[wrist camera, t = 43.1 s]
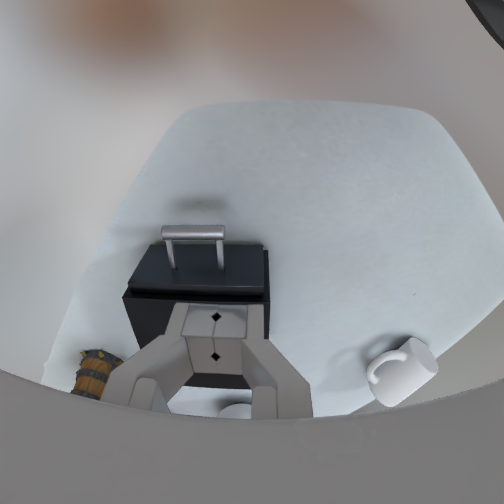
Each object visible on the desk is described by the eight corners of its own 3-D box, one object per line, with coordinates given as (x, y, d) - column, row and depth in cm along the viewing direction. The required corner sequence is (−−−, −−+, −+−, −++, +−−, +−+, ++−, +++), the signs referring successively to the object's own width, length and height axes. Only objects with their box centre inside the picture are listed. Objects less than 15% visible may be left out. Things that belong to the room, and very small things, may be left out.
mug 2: (428, 343, 44) (444, 377, 37) (391, 376, 49) (401, 409, 42) (388, 324, 42) (404, 363, 35) (347, 362, 46) (356, 400, 39)
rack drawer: (144, 207, 32) (116, 240, 25) (263, 206, 32) (264, 240, 25) (168, 326, 41) (155, 367, 35) (261, 329, 41) (261, 373, 34)
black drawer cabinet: (149, 249, 36) (121, 297, 28) (268, 249, 35) (270, 302, 27) (169, 332, 43) (153, 382, 35) (265, 336, 43) (266, 389, 35)
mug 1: (70, 357, 49) (33, 436, 32) (106, 326, 43) (59, 428, 26) (118, 392, 54) (93, 471, 37) (164, 369, 48) (139, 470, 31)
